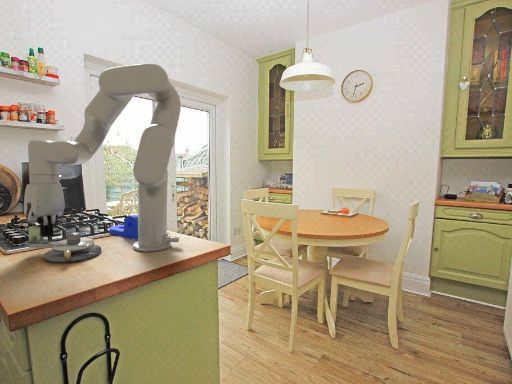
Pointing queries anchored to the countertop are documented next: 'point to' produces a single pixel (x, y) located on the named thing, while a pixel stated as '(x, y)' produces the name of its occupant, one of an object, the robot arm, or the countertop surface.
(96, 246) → the post base
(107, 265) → the countertop surface
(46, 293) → the countertop surface
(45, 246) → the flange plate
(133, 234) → the bracket
